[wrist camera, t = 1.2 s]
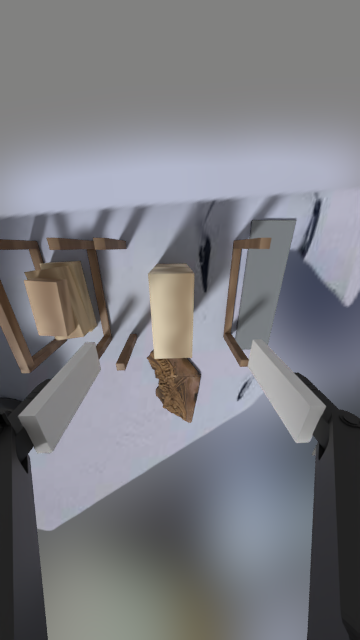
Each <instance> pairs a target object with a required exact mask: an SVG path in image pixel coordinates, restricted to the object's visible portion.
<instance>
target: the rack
mask: <svg viewBox="0 0 360 640" xmlns="http://www.w3.org/2000/svg"><path fill="white" fill-rule="evenodd" d="M271 239H272V238H254V239H245V240H235V241H234V243H233V253H232V262H231V271H230V280H229V289H228V299H227V308H226V317H225V326H224V336H223V337H224V339H225V341H226V343H227V344H228V346H229V348H230V350H231V351H232V353H233V355H234V357H235V358H236V360H237V362H238V364H239V365H240V367H247V366H248V362H249V359H248V358H247V357H246V355H245V354H244V352H243V351H242V349H241V348H240V346H239V345H238V343H237V342H236V340H235V339H234V337H233V336H232V335H231V326H232V318H233V310H234V302H235V294H236V286H237V278H238V270H239V262H240V254H241V249H270V244H271ZM47 241H48V245H49V249H50V250H72V249H87V253H88V258H89V263H90V268H91V273H92V278H93V283H94V289H95V294H96V299H97V304H98V309H99V314H100V319H101V324H102V329H103V334H104V337H103V338H102V339H101V341H100V342H99V343H98V344H97V346H96V349H97V354H98V358H99V359H100V358H101V356H102V354H103V353H104V351H105V350H106V348H107V347H108V345H109V344H110V342H111V341H112V336H111V331H110V325H109V320H108V314H107V309H106V303H105V297H104V292H103V286H102V281H101V275H100V270H99V264H98V259H97V253H96V250H108V249H127V248H126V241H123V240H116V239H109V238H93V241H89V240H77V239H65V238H47ZM18 249H29V251H30V255H31V258H32V261H33V264H34V267H35V270H41V267H40V264H42V263H43V260H42V257H41V253H40V250H39V247H38V243H37V241H25V240H3V239H0V250H18ZM0 326H1V328H2V330H3V333H4V335H5V337H6V339H7V341H8V344H9V346H10V348H11V350H12V352H13V355H14V357H15V359H16V361H17V363H18V366H19V368H20V370H21V372H22V373H31V372H32V371H33V370H34V369H35V368H36V367H38V366H39V365H40V364H41V363H42V362H43V361H44V360H46V359H47V358H48V357H49V356H50V355H51V354H52V353H53V352H55V351H56V350H57V349H58V348H59V347H60V346H61V345H62V344H64V343H65V342H66V341H67V340H66V339H63V340H56V338H55V339H54V340H53V341H51V342H50V343H49V344H47V345H46V346H45V347H44V348H42V349H41V350H40V351H38V352H37V353H36V354H35V355H33V356H31V354H30V352H29V349H28V347H27V344H26V342H25V339H24V337H23V334H22V332H21V329H20V327H19V324H18V322H17V320H16V317H15V315H14V312H13V310H12V307H11V305H10V302H9V300H8V297H7V295H6V293H5V290H4V288H3V285H2V283H1V280H0ZM136 340H137V335H136V334H130V336H129V338H128V340H127V342H126V344H125V346H124V348H123V350H122V352H121V354H120V356H119V359H118V361H117V363H116V367H117V370H125V369H126V366H127V364H128V361H129V359H130V356H131V353H132V351H133V348H134V346H135V343H136Z"/></svg>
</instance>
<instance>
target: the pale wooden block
mask: <svg viewBox="0 0 360 640" xmlns="http://www.w3.org/2000/svg"><path fill="white" fill-rule="evenodd" d="M148 278H149V292H150V305H151V319H152V332H153V346H154V359H164V358H192V339H193V305H194V272H193V271H192V270H191V269H190V268H189V266H188V265H187V264H157V265H156V266H155V267H154V268H153V269H152V270H151V271H150V272H149V273H148Z"/></svg>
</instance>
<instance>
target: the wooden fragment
mask: <svg viewBox="0 0 360 640" xmlns="http://www.w3.org/2000/svg"><path fill="white" fill-rule="evenodd" d="M147 359H148V360H149V362H150V364H151V367H152V369H154V370H155V375H156V378H158V379H159V383H158V384H159V386H158V387H157V389H156V396H157V397H158V398H159V399H160V400H161V401H162V403H163V408H166V409H167V410H168V411H170V412H171V413H174V414H175V415H177V416H179V417H181V418H182V419H183V420H185V421H187V422H190V423H191V422H192V417H193V412H194V407H195V403H196V398H197V393H198V388H199V383H200V376H199V375H201V374H200V373H199V372H198V371H197V370H196V369H195V368H194V366H193V365H192V364H191V363H190V361H189V360H188V359H187V358H164V359H154V351H152V352H151V353H150V355H149V356H148V357H147ZM197 376H199V377H197Z"/></svg>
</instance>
